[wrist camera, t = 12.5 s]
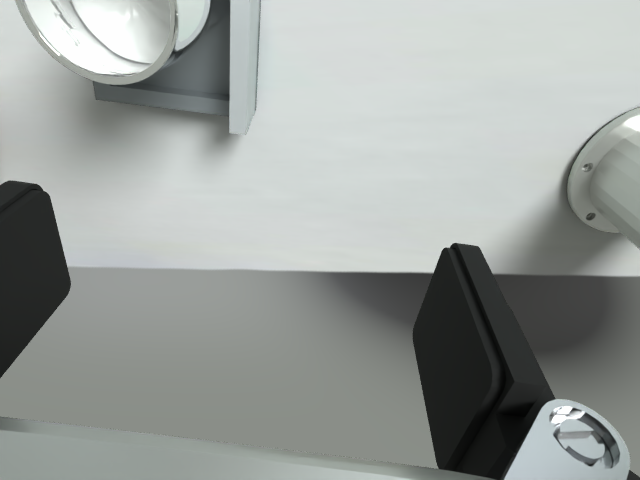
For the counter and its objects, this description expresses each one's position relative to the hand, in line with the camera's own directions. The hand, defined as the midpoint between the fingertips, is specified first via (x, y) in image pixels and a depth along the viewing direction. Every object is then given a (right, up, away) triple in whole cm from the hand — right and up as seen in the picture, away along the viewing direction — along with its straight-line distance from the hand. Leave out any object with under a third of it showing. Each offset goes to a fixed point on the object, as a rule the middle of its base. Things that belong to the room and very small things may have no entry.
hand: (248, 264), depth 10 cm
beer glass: (-7, +19, +19) cm, 28 cm away
